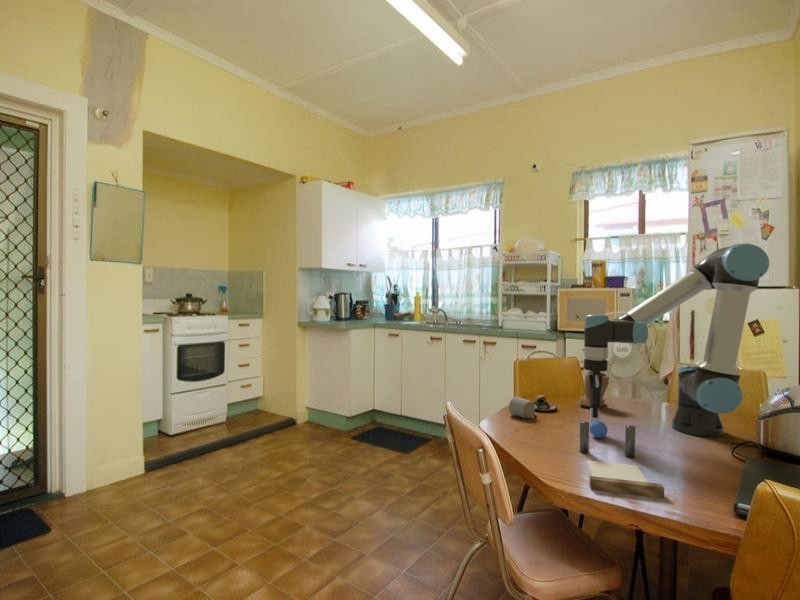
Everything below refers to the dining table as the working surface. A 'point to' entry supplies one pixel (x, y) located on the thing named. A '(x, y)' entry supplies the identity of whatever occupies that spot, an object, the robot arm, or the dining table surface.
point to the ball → (598, 429)
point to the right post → (630, 441)
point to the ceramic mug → (521, 407)
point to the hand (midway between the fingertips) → (594, 425)
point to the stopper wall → (627, 486)
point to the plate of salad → (543, 404)
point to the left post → (584, 437)
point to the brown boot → (586, 398)
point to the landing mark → (616, 471)
